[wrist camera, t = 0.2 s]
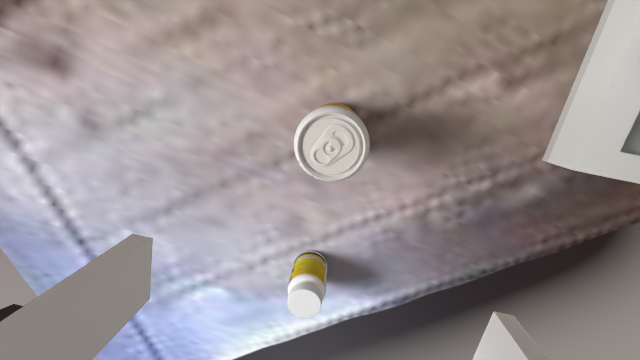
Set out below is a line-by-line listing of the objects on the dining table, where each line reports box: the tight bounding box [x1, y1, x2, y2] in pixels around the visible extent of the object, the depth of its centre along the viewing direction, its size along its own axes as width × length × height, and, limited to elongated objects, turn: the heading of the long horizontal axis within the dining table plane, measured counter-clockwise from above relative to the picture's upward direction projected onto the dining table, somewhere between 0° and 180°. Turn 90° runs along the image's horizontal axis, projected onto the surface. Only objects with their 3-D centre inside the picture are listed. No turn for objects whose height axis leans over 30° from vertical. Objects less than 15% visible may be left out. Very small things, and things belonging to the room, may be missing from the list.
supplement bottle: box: [287, 251, 327, 318], centre depth 39 cm, size 5×5×8 cm
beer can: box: [294, 103, 370, 182], centre depth 30 cm, size 6×6×15 cm
